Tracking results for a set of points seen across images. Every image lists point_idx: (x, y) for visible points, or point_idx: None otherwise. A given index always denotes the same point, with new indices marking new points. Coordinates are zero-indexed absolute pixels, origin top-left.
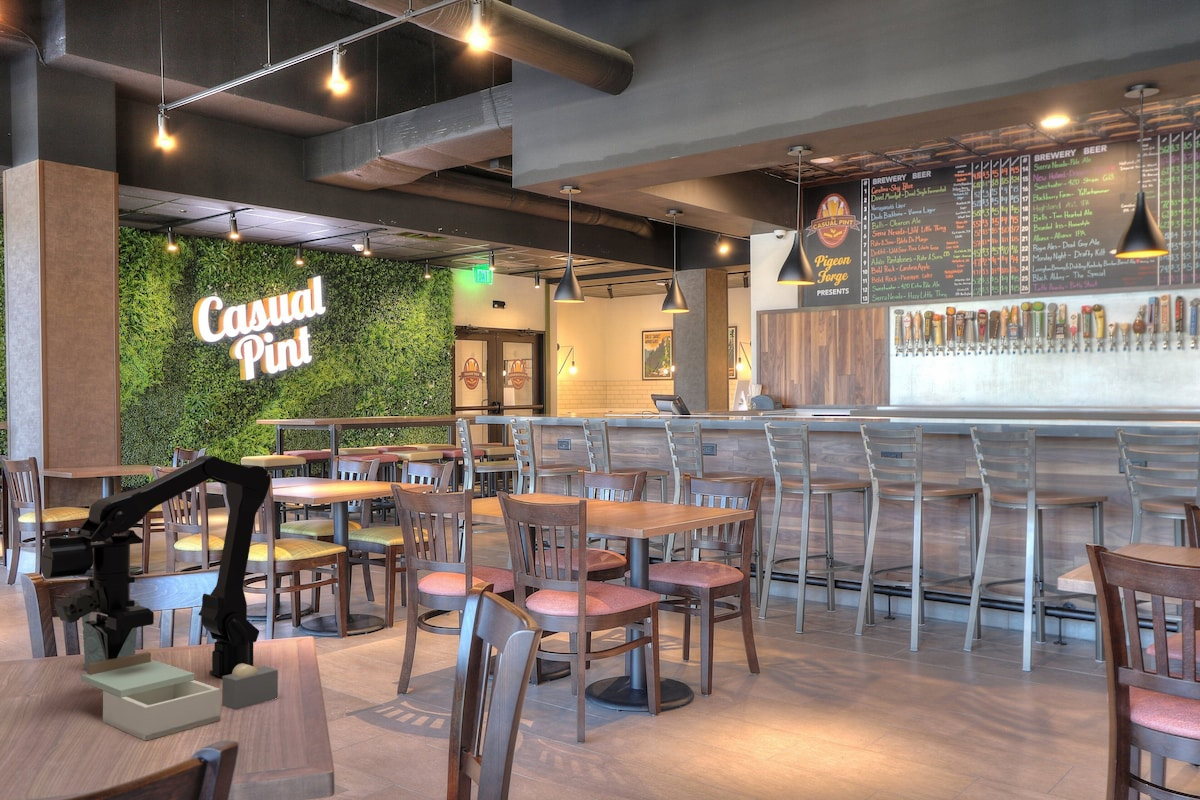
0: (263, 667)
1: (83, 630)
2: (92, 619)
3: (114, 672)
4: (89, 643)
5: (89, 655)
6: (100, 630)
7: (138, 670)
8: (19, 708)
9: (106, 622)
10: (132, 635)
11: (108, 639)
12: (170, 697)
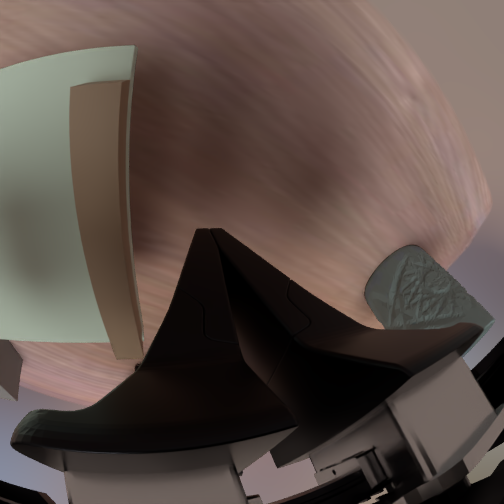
0: (9, 397)
1: (465, 291)
2: (446, 394)
3: (42, 189)
4: (440, 279)
5: (426, 264)
6: (223, 382)
7: (19, 267)
8: (352, 8)
9: (198, 497)
10: None
11: (160, 331)
12: None
